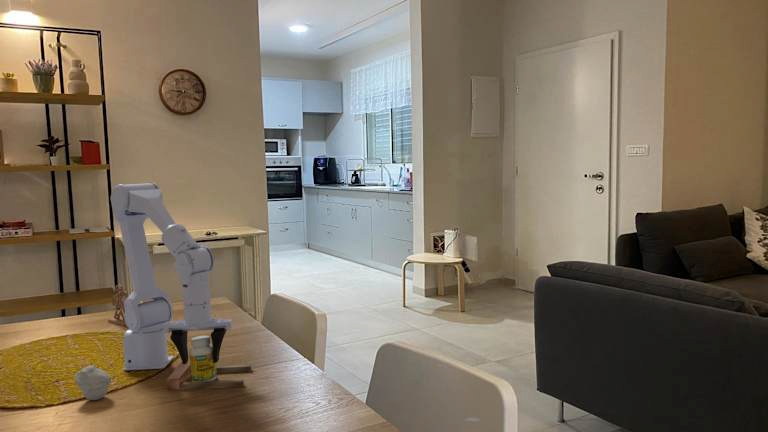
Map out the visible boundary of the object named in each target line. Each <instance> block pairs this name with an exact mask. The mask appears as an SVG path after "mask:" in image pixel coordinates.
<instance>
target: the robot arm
mask: <svg viewBox="0 0 768 432" xmlns="http://www.w3.org/2000/svg"><path fill="white" fill-rule="evenodd" d="M110 194H111V195H110V203H111V208H112V214H113V217H114V221H116V222H117V223H118V224H119V227H120V232H121V238H122V242H123V247H124V251H125V257H126V262H127V266H128V271H129V275H130V281H131V285H132V290H133V291H132V292H131V293H130V294H129V295H128V298H127V299H126V300H125V299H124V300H125V302H124V309H125V314H124V313H123V315H124V318H125V323H126V327H127V328H128V329H127V330H126V331H125V333H124V335H123V338H122V339H123V341H122V350H123V362H124V367H123V371H138V370H141V371H142V370H159V369H160V370H162V369H165V368H166V367H167V366H168V364H170V362H171V361H172V360H173V359H174V355H168V354H169V353H168V352H169V351H168V339H167V334H168V333H169V334H170V333H171V335H169V336H170V340H171V341H172V343H173V344H174V346H175V348H176V350H177V351H178V354H179V357H180V359H181V360H180V361H181V362H182V363H183V364H186V363H187V362H189V350H188V333H189V331H190V332H194V331H211V333H210V340H211V345H212V346H213V362H214V363H216V364H217V363H218V362H219V360H220V352H221V348H222V344H223V341H224V337H225V335H226V333H227V331H231V330H233V319H231V318H229V319H227V318H212V306H211V289H210V276H209V275H210V273H209V272H211V271H212V269H213V268H214V263H215V259H214V256H213V252H212V251H211V250H210V248H209V247H208V246H205V245H204V246H203V245H202V244H201V243H199V244H198V241H196V240H195V238H194V237H193V236H192V234H191V233H190V232H189V231H188V230H187V228H186V227H185V225H183V224H179V223H176V222H175V221H174V219H173V217H172V215H171V213H170V212H169V210H168V209H167V207H166V206H165V204H164V202H163V200H164V199H163V191H162V190H161V188H160V187H159V185H158V184H157V183H155V182H148V183H130V184H128V183H127V184H122V183H118V184H116V185H115V186H114V187H113V189H112V192H111V193H110ZM146 219H150V220H151V221H152V223H153V224H154V225H155V226H156V227H157V228H158V230H160V232H161V237H160V238H161V241H162V243H163V244H164V246H165V247H166V248H167V250H168V251H169V252H170V254H171V255H172V256H173V258H174V259H175V262H174V267H175V270H176V272H177V274H178V281H179V283H180V284H181V287H182V303H183V316H184V318H183V319H184V320H182V319H181V320H177V321H172V319H173V316H174V308H173V305H172V303H171V301H170V299H169V297H168V293H167V291H165V290H164V289H161V288H160V287H158V286H157V284H156V280H155V274H154V270H153V264H152V260H151V255H150V251H149V247H148V241H147V237H146V233H145V228H144V223H145V221H146ZM147 300H150V301H147ZM143 301H144V302H143Z"/></svg>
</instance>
